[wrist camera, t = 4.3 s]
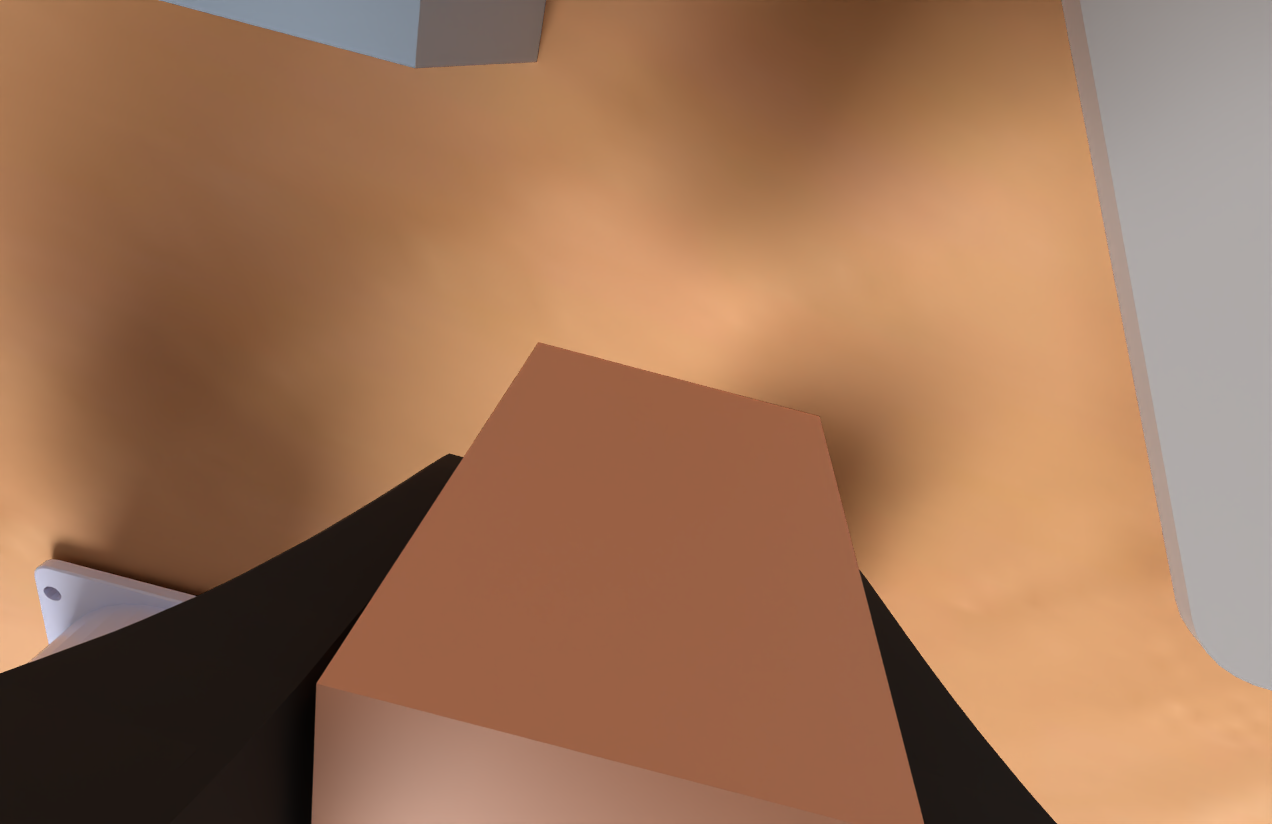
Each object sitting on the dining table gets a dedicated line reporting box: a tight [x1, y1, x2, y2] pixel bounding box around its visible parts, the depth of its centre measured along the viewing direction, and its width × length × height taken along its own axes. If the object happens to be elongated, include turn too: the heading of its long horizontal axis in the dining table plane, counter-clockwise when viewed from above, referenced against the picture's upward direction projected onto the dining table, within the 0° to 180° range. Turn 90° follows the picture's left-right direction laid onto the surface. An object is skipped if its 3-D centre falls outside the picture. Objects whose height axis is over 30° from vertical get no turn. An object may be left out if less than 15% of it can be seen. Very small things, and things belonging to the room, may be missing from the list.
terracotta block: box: [311, 342, 924, 824], centre depth 8 cm, size 4×4×6 cm
